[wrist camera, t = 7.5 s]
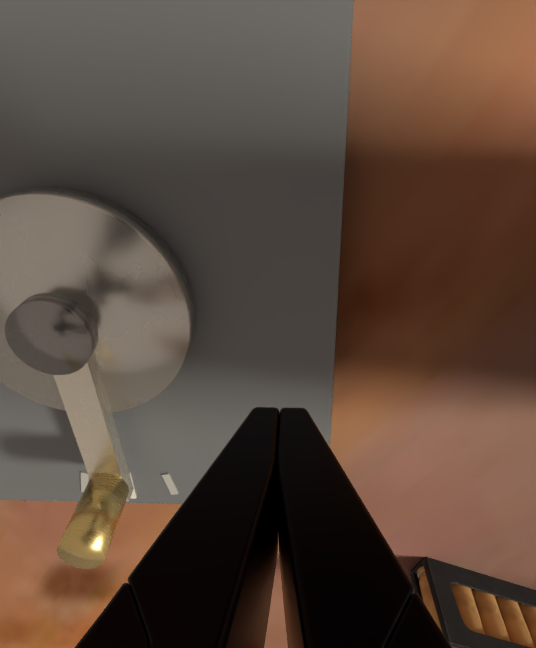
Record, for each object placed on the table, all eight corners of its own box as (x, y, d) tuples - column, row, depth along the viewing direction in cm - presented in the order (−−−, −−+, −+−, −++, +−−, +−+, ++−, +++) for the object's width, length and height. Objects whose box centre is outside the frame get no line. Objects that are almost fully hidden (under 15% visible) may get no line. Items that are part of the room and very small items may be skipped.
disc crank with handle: (-84, 191, 18) (-221, 245, 13) (175, 181, 17) (129, 233, 12) (35, 469, 26) (-24, 566, 21) (218, 470, 25) (200, 570, 20)
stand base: (-327, -68, 15) (-376, -77, 14) (355, -102, 14) (360, -115, 13) (-40, 481, 29) (-53, 499, 28) (325, 490, 27) (326, 509, 26)
